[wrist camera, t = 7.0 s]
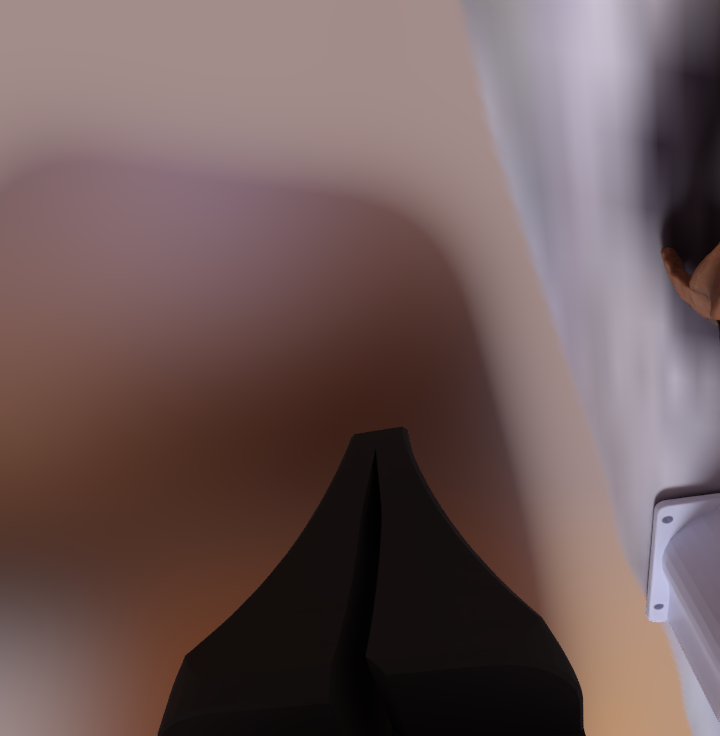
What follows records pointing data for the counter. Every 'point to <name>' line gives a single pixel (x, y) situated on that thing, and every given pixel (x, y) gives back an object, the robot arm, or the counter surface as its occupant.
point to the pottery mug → (697, 283)
